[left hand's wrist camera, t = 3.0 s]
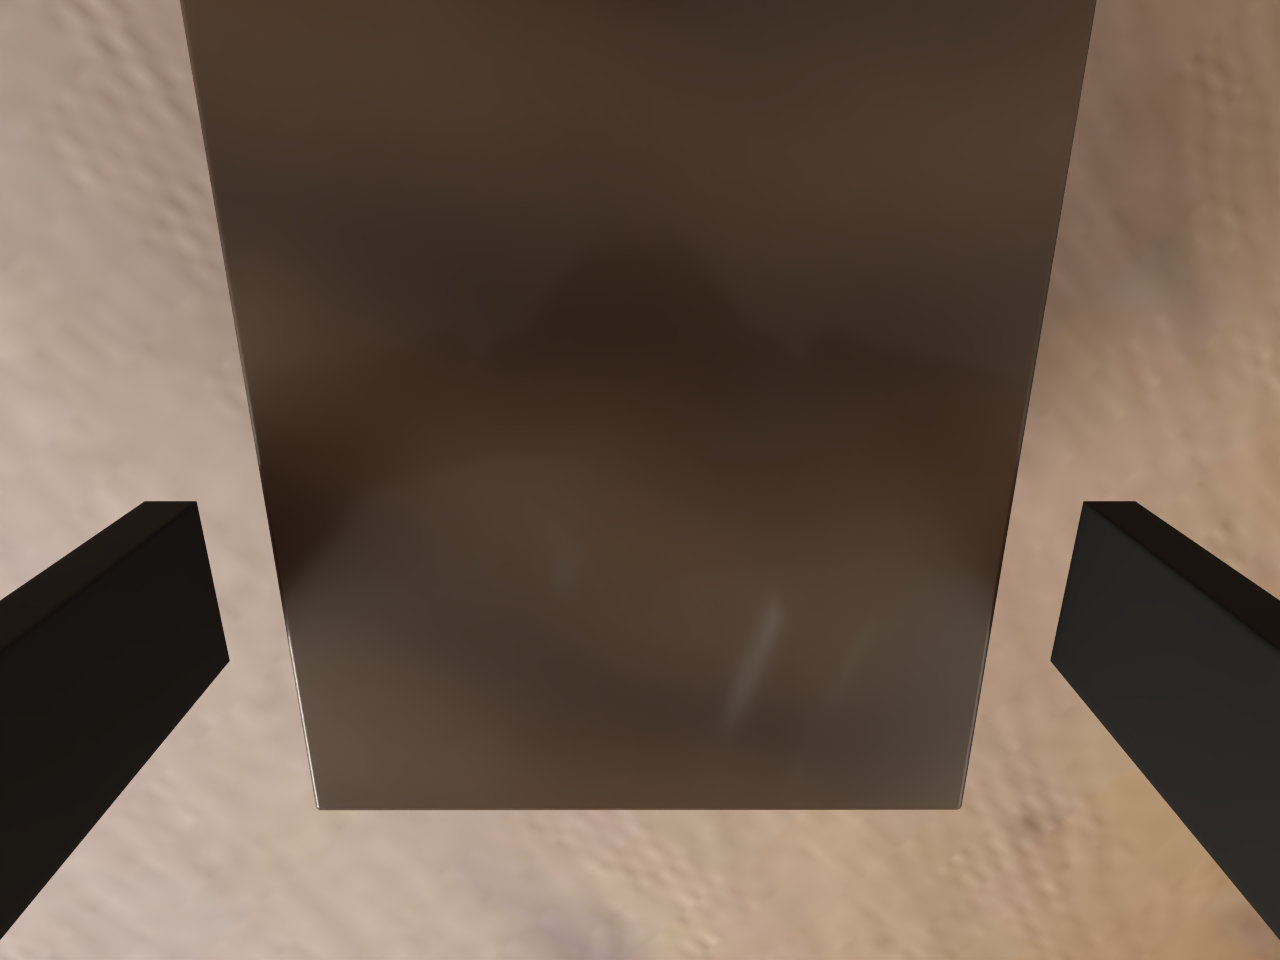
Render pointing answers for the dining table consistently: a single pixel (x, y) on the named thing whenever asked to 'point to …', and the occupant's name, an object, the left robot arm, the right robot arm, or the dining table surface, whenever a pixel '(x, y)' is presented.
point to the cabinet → (638, 381)
